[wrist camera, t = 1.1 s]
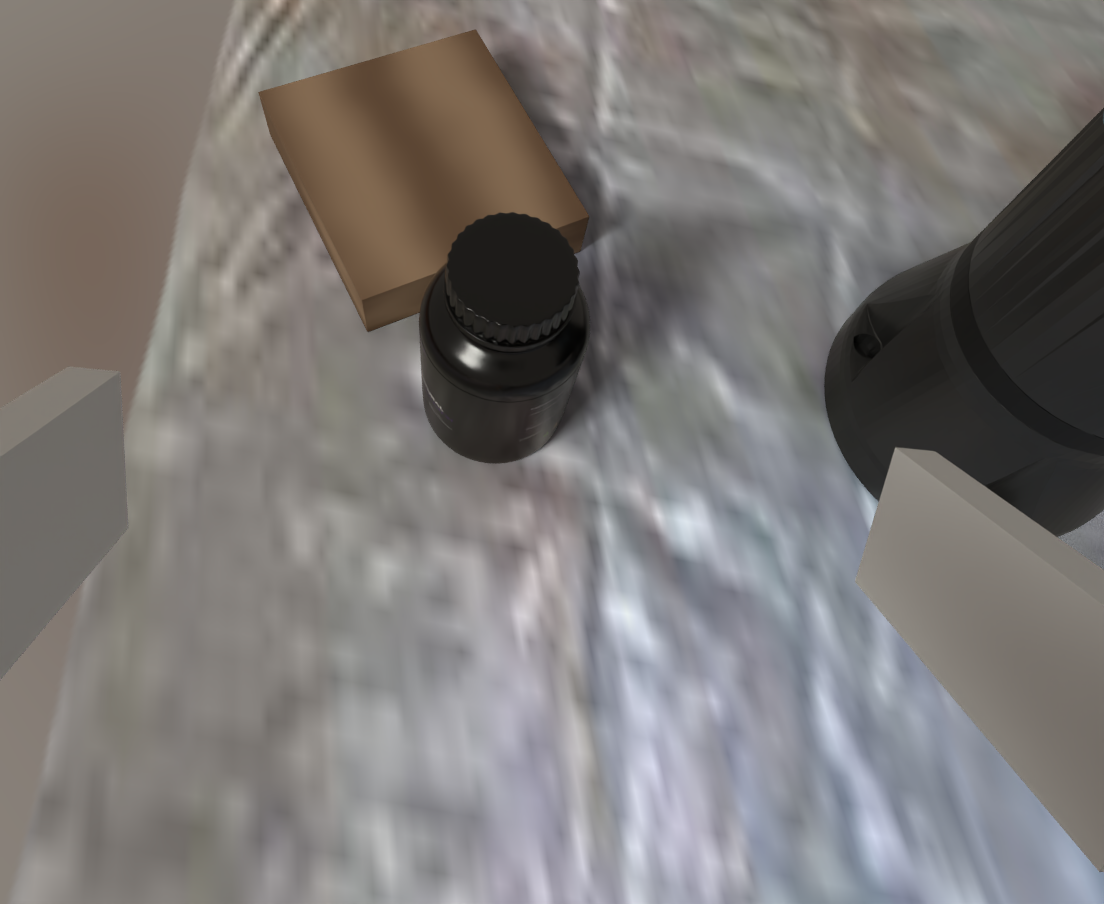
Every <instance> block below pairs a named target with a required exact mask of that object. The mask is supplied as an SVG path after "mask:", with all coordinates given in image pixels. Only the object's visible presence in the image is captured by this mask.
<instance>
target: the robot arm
mask: <svg viewBox="0 0 1104 904" xmlns="http://www.w3.org/2000/svg"><path fill="white" fill-rule="evenodd" d="M824 387H825V401H826V408H827V413H828V418H829V421H830V425H831V428H832V431H833V434H834V437H835V439H836V441H837V444H838V446H839V448H840V450H841V452H842V454H843V456H844V458H845V459H846V461H847V463H848V464H849V466H850V468H851V469H852V471H853V472H854V473H855V475H856V476H857V478H858V479H859V480H860V481H861V483H862V484H863V485H864V486H865V487H866V489H867V490H868V491H869V492H870V493H871V494H872V495H873V496H874V497H875V498H876V499H877V500H878V501H879V503H878V506H877V510H876V513H875V516H874V520H873V523H872V526H871V530H870V533H869V536H868V540H867V543H866V546H865V550H864V553H863V556H862V560H861V563H860V566H859V570H858V573H857V576H856V580H855V582H856V583H857V585H858V586H859V587H860V588H861V589H862V590H863V592H864V593H865V594H866V595H867V596H868V598H869V599H870V600H871V601H872V602H873V604H874V605H875V606H876V607H877V608H878V609H879V611H880V612H881V613H882V614H883V615H884V617H885V618H886V619H887V620H888V621H889V623H890V624H891V625H892V626H893V627H894V628H895V630H896V631H897V632H898V633H899V634H900V636H901V637H902V638H903V639H904V640H905V642H906V643H907V644H908V645H909V646H910V647H911V649H912V650H913V651H914V652H915V653H916V655H917V656H918V657H919V658H920V659H921V661H922V662H923V663H924V664H925V665H926V666H927V668H928V669H929V670H930V671H931V672H932V674H933V675H934V676H935V677H936V678H937V680H938V681H939V682H940V683H941V684H942V685H943V687H944V688H945V689H946V690H947V691H948V693H949V694H950V695H951V696H952V697H953V699H954V700H955V701H956V702H957V703H958V704H959V706H960V707H961V708H962V709H963V710H964V712H965V713H966V714H967V715H968V716H969V718H970V719H971V720H972V721H973V722H974V723H975V725H976V726H977V727H978V728H979V729H980V731H981V732H982V733H983V734H984V735H985V737H986V738H987V739H988V740H989V741H990V742H991V744H992V745H993V746H994V747H995V748H996V750H997V751H998V752H999V753H1000V754H1001V756H1002V757H1003V758H1004V759H1005V760H1006V761H1007V763H1008V764H1009V765H1010V766H1011V767H1012V769H1013V770H1014V771H1015V772H1016V773H1017V775H1018V776H1019V777H1020V778H1021V779H1022V780H1023V782H1024V783H1025V784H1026V785H1027V786H1028V788H1029V789H1030V790H1031V791H1032V792H1033V794H1034V795H1035V796H1036V797H1037V798H1038V799H1039V801H1040V802H1041V803H1042V804H1043V805H1044V807H1045V808H1046V809H1047V810H1048V811H1049V813H1050V814H1051V815H1052V816H1053V817H1054V818H1055V820H1056V821H1057V822H1058V823H1059V824H1060V826H1061V827H1062V828H1063V829H1064V830H1065V832H1066V833H1067V834H1068V835H1069V836H1070V837H1071V839H1072V840H1073V841H1074V842H1075V843H1076V845H1077V846H1078V847H1079V848H1080V849H1081V851H1082V852H1083V853H1084V854H1085V855H1086V856H1087V858H1088V859H1089V860H1090V861H1091V862H1092V864H1093V865H1094V866H1095V867H1096V868H1097V870H1098V871H1099V872H1104V570H1103V569H1101V568H1100V567H1099V566H1097V565H1096V564H1094V563H1093V562H1092V561H1090V560H1089V559H1087V558H1086V557H1084V556H1083V555H1082V554H1080V553H1079V552H1077V551H1076V550H1074V549H1073V548H1072V547H1070V546H1069V545H1067V544H1066V543H1065V542H1063V541H1062V540H1060V539H1059V538H1057V537H1058V536H1061V535H1063V534H1066V533H1068V532H1071V531H1073V530H1075V529H1077V528H1079V527H1080V526H1082V525H1084V524H1085V523H1087V522H1088V521H1090V520H1091V519H1093V518H1094V517H1095V516H1097V515H1098V514H1099V513H1100V512H1102V511H1103V510H1104V108H1103V109H1102V110H1101V111H1100V112H1099V113H1098V114H1097V115H1096V116H1095V117H1094V118H1093V119H1092V120H1091V121H1090V122H1089V123H1088V124H1087V125H1086V126H1085V127H1084V128H1083V130H1082V131H1081V132H1080V133H1079V134H1078V135H1077V136H1076V137H1075V138H1074V139H1073V140H1072V141H1071V142H1070V143H1069V144H1068V145H1067V146H1066V147H1065V148H1064V149H1063V150H1062V151H1061V152H1060V153H1059V154H1058V155H1057V156H1056V157H1055V158H1054V159H1053V160H1052V161H1051V162H1050V163H1049V164H1048V165H1047V166H1046V167H1045V168H1044V169H1043V170H1042V171H1041V172H1040V173H1039V174H1038V175H1037V176H1036V177H1035V178H1034V179H1033V180H1032V181H1031V182H1030V183H1029V184H1028V185H1027V186H1026V187H1025V188H1024V189H1023V190H1022V191H1021V192H1020V193H1019V194H1018V195H1017V196H1016V197H1015V198H1014V200H1013V201H1012V202H1011V203H1010V204H1009V205H1008V206H1007V207H1006V208H1005V209H1004V210H1003V211H1002V212H1001V213H1000V214H999V215H997V216H996V217H995V218H994V220H993V221H992V222H991V223H990V224H989V225H988V226H987V227H986V228H985V229H984V230H983V231H982V232H981V233H980V234H979V235H978V236H977V237H976V238H975V239H974V240H973V241H972V242H970V243H968V244H966V245H963V246H961V247H959V248H957V249H954V250H952V251H950V252H948V253H945V254H943V255H941V256H938V257H936V258H934V259H932V260H929V261H927V262H925V263H923V264H920V265H918V266H916V267H913V268H911V269H909V270H907V271H904V272H902V273H900V274H898V275H896V276H895V277H893V278H891V279H890V280H888V281H887V282H885V283H884V284H882V285H881V286H880V287H878V288H877V289H876V290H875V291H874V292H872V293H871V294H870V295H869V296H868V297H867V298H866V299H865V300H864V302H863V303H862V304H861V305H860V306H859V307H858V308H857V309H856V310H855V312H854V313H853V314H852V315H851V316H850V317H849V318H848V319H847V321H846V322H845V323H844V325H843V326H842V327H841V329H840V331H839V332H838V334H837V336H836V338H835V340H834V342H833V344H832V347H831V349H830V353H829V356H828V360H827V365H826V371H825V385H824ZM127 529H128V511H127V492H126V473H125V454H124V435H123V417H122V398H121V378H120V372H119V371H109V370H98V369H88V368H78V367H67V368H65V369H64V370H62V371H60V372H59V373H57V374H55V375H54V376H52V377H51V378H49V379H47V380H46V381H44V382H42V383H41V384H39V385H37V386H36V387H34V388H32V389H31V390H29V391H27V392H26V393H24V394H22V395H21V396H20V397H18V398H16V399H14V400H13V401H11V402H9V403H8V404H6V405H4V406H3V407H1V408H0V680H1V679H2V678H3V676H4V675H5V674H6V673H7V672H8V670H9V669H10V668H11V667H12V666H13V664H14V663H15V662H16V661H17V660H18V658H19V657H20V656H21V655H22V654H23V653H24V651H25V650H26V649H27V648H28V647H29V645H30V644H31V643H32V642H33V641H34V640H35V638H36V637H37V636H38V635H39V634H40V632H41V631H42V630H43V629H44V628H45V626H46V625H47V624H48V623H49V622H50V620H51V619H52V618H53V617H54V615H56V613H57V612H58V611H59V610H60V608H61V607H62V606H63V605H64V604H65V603H66V601H67V600H68V599H69V598H70V597H71V595H72V594H73V593H74V592H75V591H76V590H77V588H78V587H79V586H80V585H81V584H82V582H83V581H84V580H85V579H86V578H87V576H88V575H89V574H90V573H91V572H92V571H93V569H94V568H95V567H96V566H97V565H98V563H99V562H100V561H101V560H102V559H103V557H104V556H105V555H106V554H107V553H108V552H109V550H110V549H111V548H112V547H113V546H114V544H115V543H116V542H117V541H118V540H119V538H120V537H121V536H122V535H123V534H124V532H125V531H126V530H127Z"/></svg>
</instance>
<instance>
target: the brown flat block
mask: <svg viewBox="0 0 1104 904" xmlns="http://www.w3.org/2000/svg"><path fill="white" fill-rule="evenodd" d="M259 96H260V99H261V103H262V107H263V110H264V114H265V117H266V121H267V125H268V128H269V132H270V135H271V137H272V139H273V141H274V143H275V145H276V147H277V149H278V151H279V153H280V155H281V157H282V159H283V161H284V163H285V165H286V167H287V170H288V172H289V174H290V176H291V178H292V180H293V182H294V184H295V186H296V188H297V190H298V192H299V194H300V196H301V198H302V200H303V202H304V204H305V206H306V208H307V210H308V212H309V214H310V216H311V218H312V220H313V222H314V224H315V226H316V228H317V230H318V232H319V234H320V236H321V238H322V241H323V243H324V245H325V247H326V249H327V251H328V253H329V255H330V257H331V259H332V261H333V263H334V265H335V267H336V269H337V271H338V273H339V275H340V277H341V279H342V281H343V283H344V285H345V287H346V289H347V291H348V293H349V295H350V297H351V299H352V301H353V303H354V305H355V307H356V309H357V312H358V314H359V316H360V318H361V320H362V322H363V324H364V326H365V328H366V330H367V332H369V331H372V330H374V329H377V328H380V327H382V326H385V325H388V324H390V323H393V322H395V321H398V320H401V319H403V318H406V317H409V316H411V315H414V314H417V313H419V312H420V306H421V301H422V298H423V295H424V292H425V290H426V288H427V286H428V284H429V282H430V280H431V279H432V277H433V276H434V275H435V273H436V272H437V271H438V270H439V269H440V268H441V267H442V266H443V265H444V264H445V263H446V262H447V255H448V253H449V252H450V251H451V244H452V243H453V242H454V241H455V240H456V239H457V236H458V234H459V233H460V232H463V231H464V229H465V227H466V226H467V225H471V224H473V223H474V222H475V221H476V220H477V219H482V218H484V217H485V216H487V215H495V214H497V213H500V212H501V213H510V212H514V213H517V214H527V215H529V216H530V217H538V218H539V219H540V220H541V221H543V222H547V223H549V224H550V225H551V226H552V227H553V228H555V229H557V230H559V231H560V233H561V235H562V236H563V237H565V238H566V239H567V240H568V243H569V245H570V246H571V247H572V248H573V249H574V254H575V253H577V252H580V251H581V247H582V243H583V239H584V235H585V231H586V227H587V223H588V220H589V215H588V213H587V212H586V210H585V209H584V207H583V205H582V204H581V202H580V200H579V199H578V197H577V195H576V194H575V192H574V190H573V189H572V187H571V185H570V184H569V182H568V181H567V179H566V177H565V176H564V174H563V172H562V171H561V169H560V167H559V166H558V164H557V162H556V161H555V159H554V158H553V156H552V154H551V153H550V151H549V149H548V148H547V146H546V144H545V143H544V141H543V139H542V138H541V136H540V134H539V133H538V131H537V130H536V128H535V126H534V125H533V123H532V121H531V120H530V118H529V116H528V115H527V113H526V111H525V110H524V108H523V107H522V105H521V103H520V102H519V100H518V98H517V97H516V95H515V93H514V92H513V90H512V88H511V87H510V85H509V83H508V82H507V80H506V79H505V77H504V75H503V74H502V72H501V70H500V69H499V67H498V65H497V64H496V62H495V60H494V59H493V57H492V56H491V54H490V52H489V51H488V49H487V47H486V46H485V44H484V42H483V41H482V39H481V37H480V36H479V34H478V32H477V31H476V30H472V31H469V32H465V33H462V34H458V35H455V36H451V37H448V38H444V39H441V40H438V41H434V42H431V43H427V44H424V45H420V46H417V47H413V48H410V49H406V50H403V51H399V52H396V53H393V54H389V55H386V56H382V57H379V58H375V59H372V60H368V61H365V62H361V63H358V64H354V65H351V66H348V67H344V68H341V69H337V70H334V71H330V72H327V73H323V74H320V75H316V76H313V77H309V78H306V79H303V80H299V81H296V82H292V83H289V84H285V85H282V86H278V87H275V88H271V89H268V90H264V91H261V92H259Z"/></svg>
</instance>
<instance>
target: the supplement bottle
mask: <svg viewBox="0 0 1104 904" xmlns="http://www.w3.org/2000/svg"><path fill="white" fill-rule="evenodd" d="M577 265H578V260H577V258H576V257H575V256H574V249H573V248H572V247H571V246H570V245H569V243H568V240H567V239H566V238H565V237H563V236H562V235H561V233H560V231H559V230H557V229H555V228H553V227H552V226H551V225H550V224H549V223H547V222H543V221H541V220H540V219H539V218H538V217H530V216H529V215H527V214H517V213H514V212H510V213H501V212H500V213H497V214H495V215H487V216H485V217H484V218H482V219H477V220H476V221H475V222H474V223H473V224H471V225H467V226H466V227H465V229H464V231H463V232H460V233H459V234H458V236H457V239H456V240H455V241H454V242H453V243H452V244H451V251H450V252H449V253H448V255H447V262H446V263H445V264H444V265H443V266H442V267H441V268H440V269H439V270H438V271H437V272H436V273H435V275H434V276H433V277H432V279H431V280H430V282H429V284H428V286H427V288H426V290H425V292H424V295H423V298H422V301H421V306H420V316H419V333H420V353H421V373H422V392H423V402H424V408H425V412H426V415H427V418H428V421H429V423H430V425H431V427H432V429H433V430H434V432H435V433H436V434H437V436H438V437H439V438H440V439H441V440H442V441H443V443H445V444H446V445H447V446H448V447H449V448H451V449H452V450H453V451H455V452H456V453H458V454H460V455H462V456H464V457H466V458H469V459H472V460H475V461H479V462H484V463H507V462H512V461H516V460H519V459H522V458H524V457H527V456H529V455H531V454H532V453H534V452H536V451H537V450H539V449H540V448H541V447H542V446H543V445H545V443H546V442H547V441H548V440H549V439H550V438H551V437H552V435H553V434H554V432H555V431H556V429H557V427H558V425H559V423H560V421H561V418H562V416H563V414H564V411H565V408H566V405H567V402H568V400H569V397H570V394H571V391H572V389H573V386H574V383H575V380H576V377H577V375H578V372H579V369H580V366H581V364H582V361H583V358H584V355H585V352H586V349H587V345H588V341H589V336H590V313H589V308H588V304H587V301H586V298H585V296H584V294H583V292H582V290H581V288H580V286H579V281H578V278H579V275H580V271H579V269H578V267H577Z"/></svg>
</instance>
